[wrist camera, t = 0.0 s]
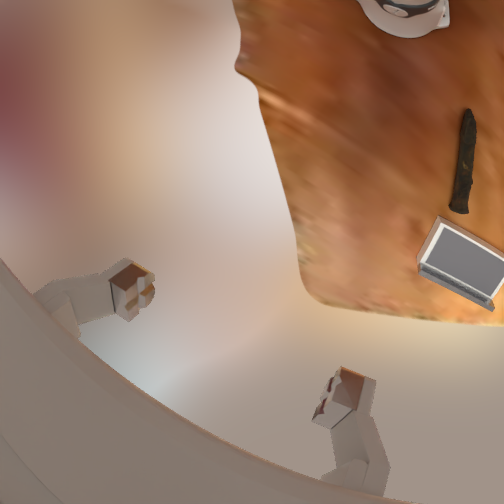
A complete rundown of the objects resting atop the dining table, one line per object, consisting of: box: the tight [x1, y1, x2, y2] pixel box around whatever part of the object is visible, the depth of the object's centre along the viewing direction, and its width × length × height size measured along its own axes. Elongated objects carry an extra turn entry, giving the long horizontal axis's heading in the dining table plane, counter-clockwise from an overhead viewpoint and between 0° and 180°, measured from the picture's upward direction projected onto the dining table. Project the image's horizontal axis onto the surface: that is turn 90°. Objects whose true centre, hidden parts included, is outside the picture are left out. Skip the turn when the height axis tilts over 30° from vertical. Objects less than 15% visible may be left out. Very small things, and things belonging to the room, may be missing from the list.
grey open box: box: [416, 215, 504, 312], centre depth 45 cm, size 10×20×7 cm, turn 77°
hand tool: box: [448, 108, 477, 214], centre depth 39 cm, size 19×4×5 cm, turn 1°
